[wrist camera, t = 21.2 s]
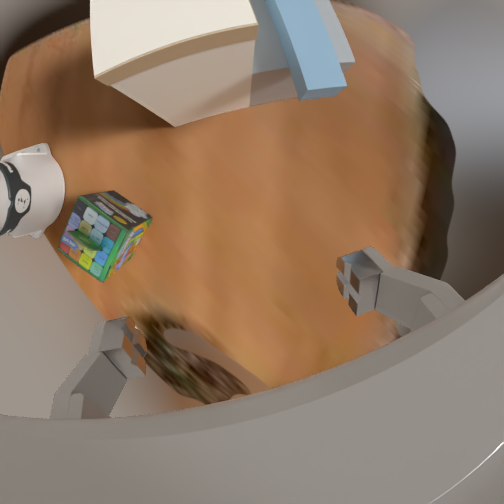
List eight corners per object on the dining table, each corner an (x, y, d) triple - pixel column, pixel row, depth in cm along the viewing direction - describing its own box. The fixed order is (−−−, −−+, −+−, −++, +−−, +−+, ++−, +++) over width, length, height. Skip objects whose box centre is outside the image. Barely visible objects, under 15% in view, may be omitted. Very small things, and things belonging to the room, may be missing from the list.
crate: (321, 94, 38) (355, 61, 24) (249, 106, 39) (252, 73, 24) (294, 18, 34) (312, -31, 20) (226, 28, 35) (220, -23, 20)
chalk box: (91, 232, 43) (42, 256, 29) (113, 188, 42) (63, 196, 27) (130, 261, 45) (90, 296, 31) (155, 217, 43) (117, 237, 29)
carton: (250, 107, 39) (258, 23, 14) (174, 128, 39) (93, 77, 14) (226, 27, 35) (214, -79, 9) (157, 47, 35) (91, -38, 10)
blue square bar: (334, 96, 25) (347, 86, 21) (299, 100, 25) (307, 90, 21) (283, -30, 20) (287, -47, 16) (252, -27, 20) (253, -45, 16)
